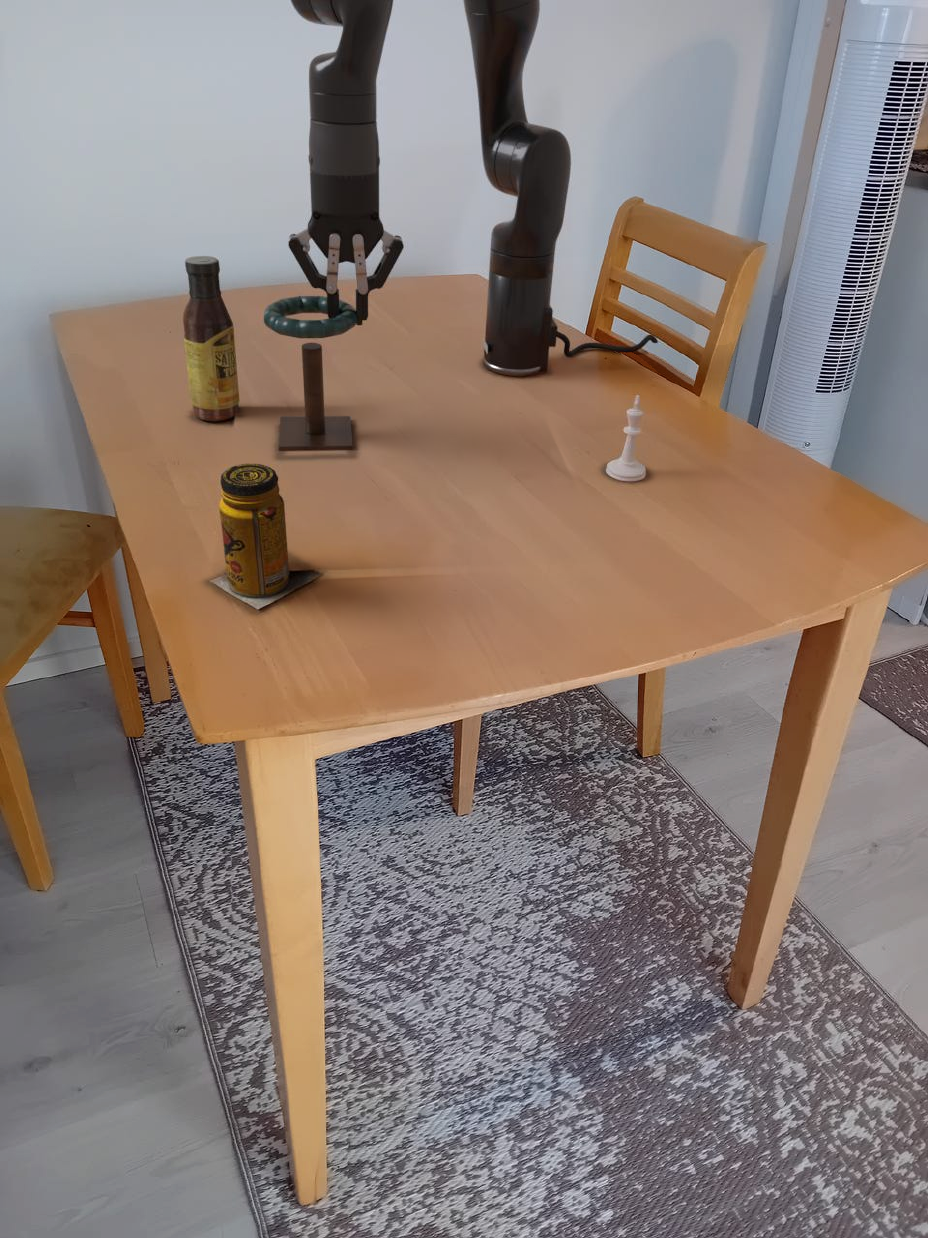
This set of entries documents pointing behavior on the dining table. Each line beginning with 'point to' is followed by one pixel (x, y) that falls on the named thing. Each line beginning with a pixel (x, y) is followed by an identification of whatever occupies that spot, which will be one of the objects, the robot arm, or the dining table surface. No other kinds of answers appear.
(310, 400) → the peg stand
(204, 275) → the sauce bottle
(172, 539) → the dining table surface
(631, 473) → the chess piece
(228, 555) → the condiment
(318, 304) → the ring
